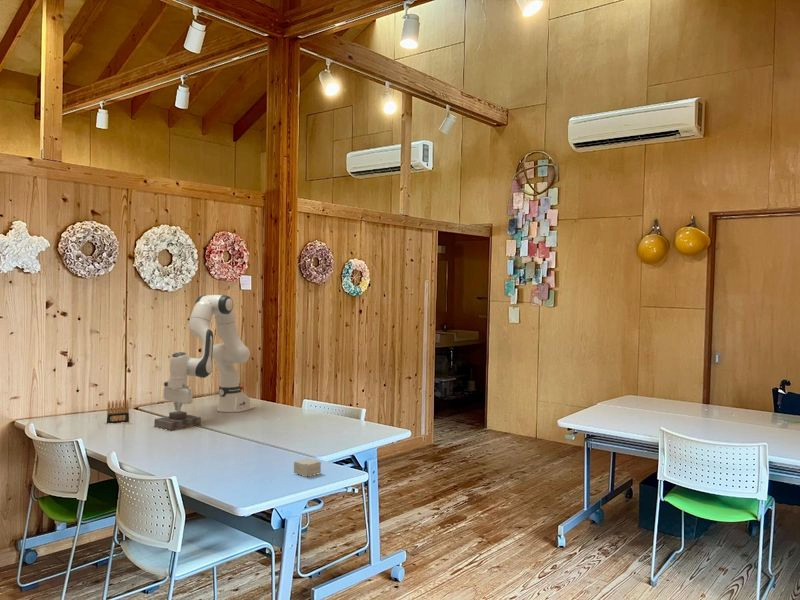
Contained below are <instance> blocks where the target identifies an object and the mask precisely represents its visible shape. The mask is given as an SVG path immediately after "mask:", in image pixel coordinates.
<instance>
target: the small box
mask: <svg viewBox="0 0 800 600" xmlns="http://www.w3.org/2000/svg"><path fill="white" fill-rule="evenodd" d="M321 465H322V461H320V460H316V459H313V458H310V457H308V458H303V459H299V460H296V461H293V474H294V473H297V474H300V475H303V476H306V477H307V476H310V475H314V474H317V473H321V469H322V467H321ZM297 474H296V475H297ZM321 474H322V473H321ZM300 475H299V476H300ZM303 476H302V477H303ZM314 476H315V475H314ZM306 477H305V478H306ZM307 478H308V477H307Z"/></svg>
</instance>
